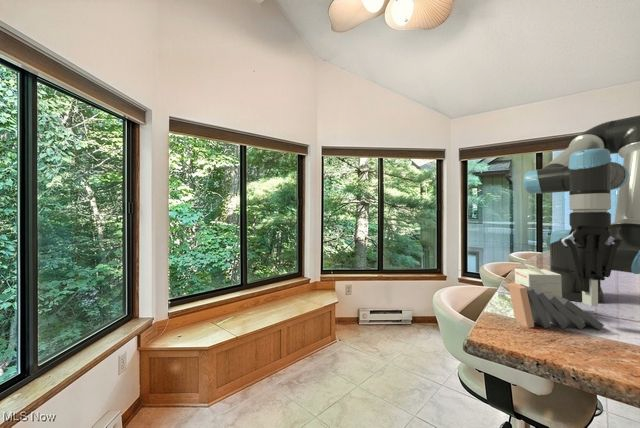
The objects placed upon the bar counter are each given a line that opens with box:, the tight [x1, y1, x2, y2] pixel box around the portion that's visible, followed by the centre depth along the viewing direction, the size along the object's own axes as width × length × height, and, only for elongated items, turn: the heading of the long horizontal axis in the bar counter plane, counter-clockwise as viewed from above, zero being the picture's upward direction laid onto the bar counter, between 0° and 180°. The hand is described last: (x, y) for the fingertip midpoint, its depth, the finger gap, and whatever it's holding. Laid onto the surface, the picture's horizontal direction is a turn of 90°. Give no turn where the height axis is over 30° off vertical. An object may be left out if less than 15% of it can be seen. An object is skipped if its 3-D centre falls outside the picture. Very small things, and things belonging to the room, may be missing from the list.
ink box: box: [514, 263, 562, 297], centre depth 81 cm, size 9×8×13 cm
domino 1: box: [507, 282, 535, 328], centre depth 72 cm, size 2×5×10 cm, turn 174°
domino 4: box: [541, 291, 586, 330], centre depth 71 cm, size 2×5×10 cm
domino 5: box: [553, 294, 605, 331], centre depth 70 cm, size 2×5×10 cm
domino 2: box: [520, 284, 552, 329], centre depth 71 cm, size 2×5×10 cm, turn 174°
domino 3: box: [530, 287, 569, 330], centre depth 71 cm, size 2×5×10 cm
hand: (590, 304), depth 70 cm, fingers closed
